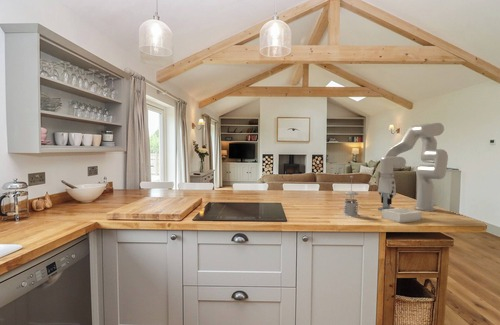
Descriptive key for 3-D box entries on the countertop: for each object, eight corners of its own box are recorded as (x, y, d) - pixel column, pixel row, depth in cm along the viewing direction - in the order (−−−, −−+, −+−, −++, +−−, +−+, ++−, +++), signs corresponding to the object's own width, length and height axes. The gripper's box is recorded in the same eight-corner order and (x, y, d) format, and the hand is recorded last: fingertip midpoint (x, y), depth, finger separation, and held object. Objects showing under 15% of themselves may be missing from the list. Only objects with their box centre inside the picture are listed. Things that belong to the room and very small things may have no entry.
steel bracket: (389, 208, 176) (389, 191, 176) (394, 209, 172) (394, 192, 172) (378, 209, 173) (378, 192, 172) (383, 211, 169) (383, 193, 168)
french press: (341, 215, 164) (342, 175, 163) (344, 211, 174) (345, 174, 173) (358, 217, 160) (359, 176, 159) (360, 213, 170) (361, 175, 169)
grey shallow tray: (403, 215, 166) (403, 207, 166) (421, 220, 155) (421, 211, 154) (381, 217, 159) (382, 209, 159) (399, 222, 148) (399, 214, 148)
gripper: (402, 176, 165) (401, 205, 166) (380, 174, 181) (380, 200, 181) (393, 177, 162) (393, 206, 163) (372, 175, 178) (371, 201, 179)
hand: (386, 203), depth 172 cm, fingers closed on steel bracket, 4 cm apart
